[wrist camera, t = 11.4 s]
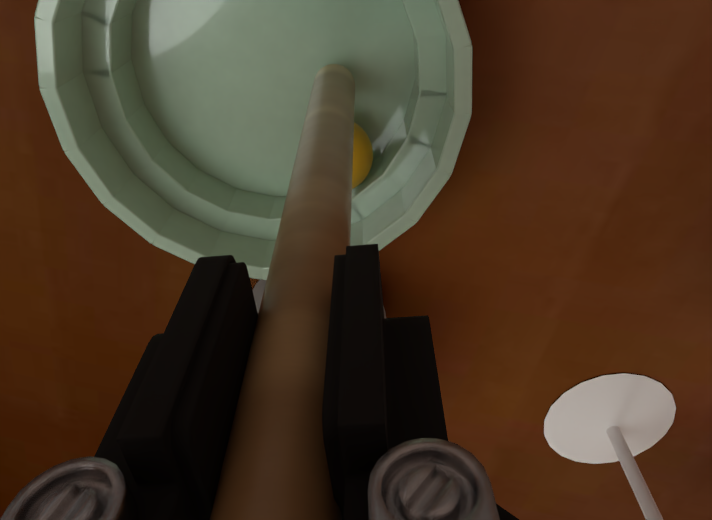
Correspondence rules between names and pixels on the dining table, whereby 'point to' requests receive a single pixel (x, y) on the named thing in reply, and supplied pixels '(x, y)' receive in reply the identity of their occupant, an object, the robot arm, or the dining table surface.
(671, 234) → the dining table surface
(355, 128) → the ball
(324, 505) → the stirring stick
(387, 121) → the bowl
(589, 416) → the wineglass
